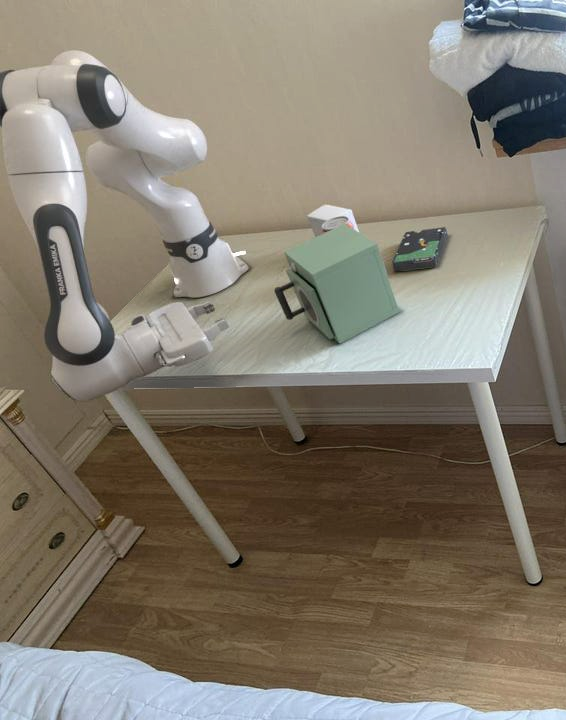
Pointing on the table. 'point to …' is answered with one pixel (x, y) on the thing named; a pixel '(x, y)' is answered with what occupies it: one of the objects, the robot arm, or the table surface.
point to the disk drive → (420, 249)
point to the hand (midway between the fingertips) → (219, 313)
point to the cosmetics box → (328, 217)
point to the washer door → (304, 303)
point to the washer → (345, 280)
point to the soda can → (336, 223)
